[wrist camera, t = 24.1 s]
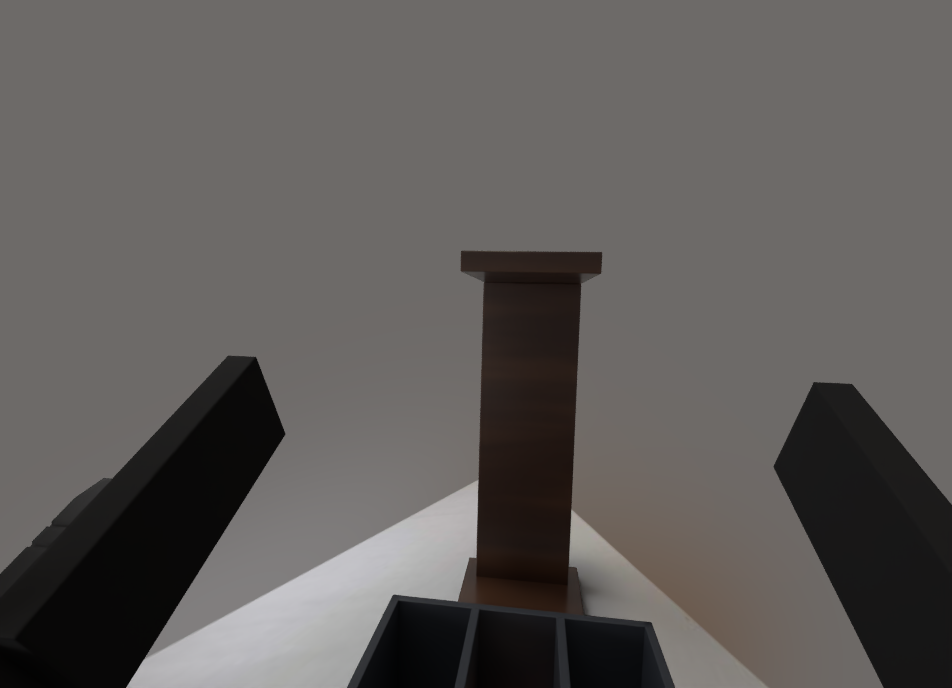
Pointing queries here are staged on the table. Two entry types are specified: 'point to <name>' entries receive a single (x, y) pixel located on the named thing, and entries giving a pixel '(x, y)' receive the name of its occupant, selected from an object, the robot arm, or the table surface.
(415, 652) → the slot rack
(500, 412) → the shelf stand
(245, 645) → the table surface
